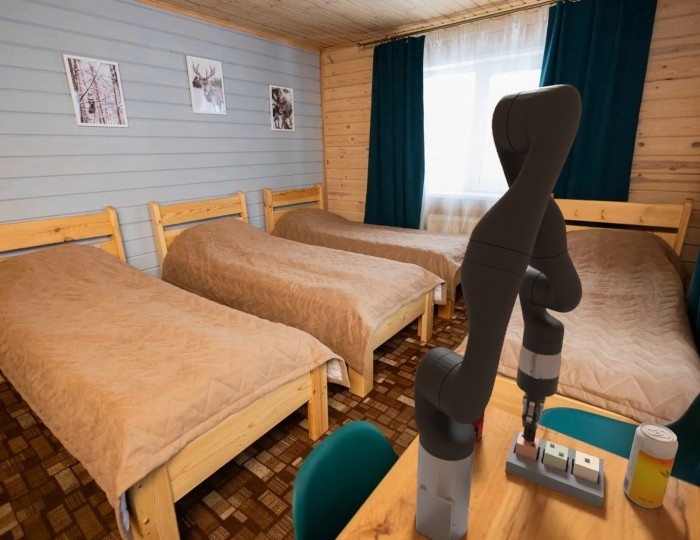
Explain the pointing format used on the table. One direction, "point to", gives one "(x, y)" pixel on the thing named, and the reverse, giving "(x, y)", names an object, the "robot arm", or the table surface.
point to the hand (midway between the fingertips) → (529, 438)
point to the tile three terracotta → (527, 447)
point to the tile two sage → (555, 456)
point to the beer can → (650, 464)
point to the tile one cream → (586, 466)
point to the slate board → (556, 474)
